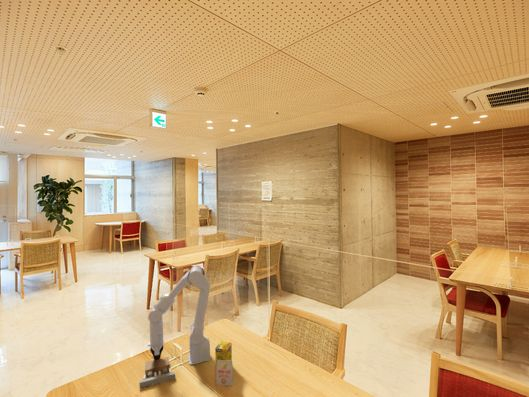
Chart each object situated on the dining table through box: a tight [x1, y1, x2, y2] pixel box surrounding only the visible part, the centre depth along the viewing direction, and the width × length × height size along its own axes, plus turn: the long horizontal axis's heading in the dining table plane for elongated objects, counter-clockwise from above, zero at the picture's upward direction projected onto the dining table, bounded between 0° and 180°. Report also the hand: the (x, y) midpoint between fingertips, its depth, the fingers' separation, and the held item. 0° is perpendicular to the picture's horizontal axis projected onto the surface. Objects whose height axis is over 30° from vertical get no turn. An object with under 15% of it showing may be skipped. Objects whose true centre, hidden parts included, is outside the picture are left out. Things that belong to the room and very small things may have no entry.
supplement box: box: [214, 340, 233, 364], centre depth 124 cm, size 6×6×11 cm
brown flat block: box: [144, 356, 170, 378], centre depth 123 cm, size 10×9×3 cm
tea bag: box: [214, 359, 234, 388], centre depth 115 cm, size 4×7×10 cm, turn 85°
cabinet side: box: [139, 367, 176, 389], centre depth 117 cm, size 14×4×2 cm, turn 112°
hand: (157, 361), depth 128 cm, fingers closed
